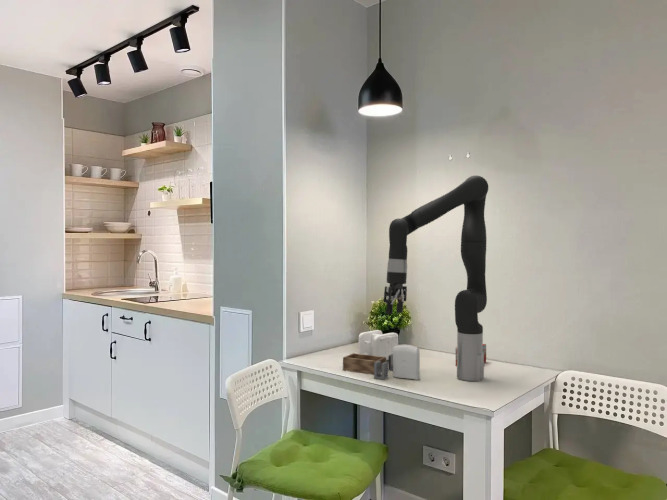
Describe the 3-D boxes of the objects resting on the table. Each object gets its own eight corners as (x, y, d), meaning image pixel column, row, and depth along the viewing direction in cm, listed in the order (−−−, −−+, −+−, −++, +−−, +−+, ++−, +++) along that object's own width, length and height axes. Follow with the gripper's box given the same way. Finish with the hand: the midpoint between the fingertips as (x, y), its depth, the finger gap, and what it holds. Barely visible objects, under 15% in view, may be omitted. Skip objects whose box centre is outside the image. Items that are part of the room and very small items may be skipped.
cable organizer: (380, 354, 238) (380, 329, 238) (399, 358, 230) (399, 332, 230) (357, 360, 227) (358, 333, 227) (376, 364, 220) (376, 336, 220)
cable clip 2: (401, 369, 211) (401, 354, 211) (397, 371, 208) (397, 356, 208) (392, 368, 213) (392, 353, 213) (388, 370, 210) (388, 355, 210)
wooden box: (386, 369, 211) (386, 357, 211) (376, 374, 203) (377, 361, 203) (352, 365, 218) (353, 353, 217) (342, 370, 210) (343, 357, 210)
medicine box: (468, 359, 230) (468, 341, 230) (486, 362, 225) (486, 343, 225) (454, 366, 217) (454, 347, 217) (473, 369, 213) (474, 349, 213)
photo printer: (391, 377, 199) (391, 344, 199) (395, 374, 203) (395, 342, 203) (417, 380, 195) (417, 347, 194) (421, 378, 198) (421, 345, 198)
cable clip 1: (388, 377, 199) (388, 362, 199) (383, 379, 195) (384, 364, 195) (378, 376, 201) (378, 360, 201) (373, 378, 197) (374, 362, 197)
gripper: (397, 271, 195) (394, 315, 195) (414, 271, 207) (411, 313, 207) (379, 270, 199) (376, 313, 199) (396, 270, 211) (394, 311, 211)
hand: (394, 313), depth 203 cm, fingers open, 8 cm apart
